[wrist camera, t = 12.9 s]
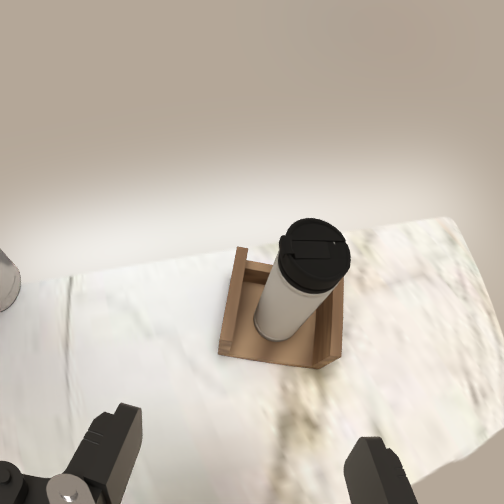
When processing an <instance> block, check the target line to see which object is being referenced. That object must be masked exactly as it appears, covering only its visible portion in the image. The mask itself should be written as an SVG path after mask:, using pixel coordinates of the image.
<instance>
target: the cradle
mask: <svg viewBox="0 0 504 504" xmlns="http://www.w3.org/2000/svg"><path fill="white" fill-rule="evenodd" d="M247 253H248V248H243V247H237V250H236V255H235V260H234V265H233V271H232V276H231V281H230V286H229V292H228V297H227V302H226V307H225V313H224V318H223V323H222V329H221V334H220V340H219V348H218V354H219V355H225V356H230V357H236V358H242V359H248V360H254V361H261V362H267V363H274V364H281V365H289V366H297V367H305V368H314V369H320V368H322V367H324V366H326V365H327V364H329V363H331V362H333V361H335V360H337V359H338V358H340V357H341V352H342V330H343V292H344V276H343V278H342V279H341V280H340V281H339V283H338V285H337V286H336V287H335V288H334V289H333V291H332V292H331V293H330V294H329V295H328V296H327V298H326V299H325V300H324V301H323V302H322V303H321V304H320V306H319V307H318V308H317V309H316V310H315V311H314V312H313V314H312V315H311V316H310V317H309V318H308V319H307V320H306V321H305V323H304V324H303V325H302V326H301V327H300V328H299V329H298V330H297V331H296V332H295V334H294V335H293V336H292V337H290V338H289V339H287V340H285V341H281V342H273V341H269V340H267V339H265V338H263V337H262V336H261V335H260V334H259V333H258V332H257V330H256V328H255V326H254V321H253V317H254V312H255V310H256V307H257V305H258V302H259V300H260V297H261V295H262V292H263V290H264V287H265V285H266V282H267V280H268V277H269V274H270V272H271V269H272V267H273V265H270V264H264V263H259V262H253V261H248V260H246V259H247Z"/></svg>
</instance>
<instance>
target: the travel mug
mask: <svg viewBox="0 0 504 504" xmlns="http://www.w3.org/2000/svg"><path fill="white" fill-rule="evenodd" d="M345 241H346V240H345V238H344V237H343V235H342V233H341V232H340V231H339V230H338V229H337V228H335V227H334V226H332V225H331V224H329V223H327V222H325V221H322V220H320V219H315V218H305V219H301V220H298V221H296V222H295V223H293V224H292V225H291V226H290V228H289V229H288V231H287V233H286V235H283V236H281V238H280V240H279V251H278V254H277V257H276V259H275V262H274V264H273V267H272V269H271V272H270V274H269V277H268V280H267V282H266V285H265V287H264V290H263V292H262V295H261V297H260V300H259V302H258V305H257V307H256V310H255V312H254V317H253V321H254V326H255V328H256V330H257V332H258V333H259V334H260V335H261V336H262V337H263V338H265V339H267V340H269V341H273V342H281V341H285V340H287V339H289V338H290V337H292V336H293V335H294V334H295V332H296V331H297V330H298V329H299V328H300V327H301V326H302V325H303V324H304V323H305V321H306V320H307V319H308V318H309V317H310V316H311V315H312V314H313V312H314V311H315V310H316V309H317V308H318V307H319V306H320V304H321V303H322V302H323V301H324V300H325V299H326V298H327V296H328V295H329V294H330V293H331V292H332V291H333V289H334V288H335V287H336V286H337V285H338V283H339V281H340V280H341V279H342V278H343V276H344V275H345V274H346V273H347V272H348V270H349V268H350V261H351V259H350V258H351V256H350V250H349V248H348V245H347V244H346V242H345Z"/></svg>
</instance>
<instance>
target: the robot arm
mask: <svg viewBox="0 0 504 504" xmlns="http://www.w3.org/2000/svg"><path fill="white" fill-rule="evenodd" d="M20 284H21V277H20V272H19V270H18V268H17V267H16V266H15V264H14V263H13V262H12V261H11V260H10V259H9V258H8V257H7V256H6V255H5V253H4V252H3V251H2V250H1V249H0V311H3V310H5V309H7V308H8V307H9V306H10V305H11V304H12V303H13V302H14V300H15V299H16V297H17V295H18V292H19V289H20ZM141 443H142V410H141V408H138V407H135V406H131V405H128V404H124V403H120V404H119V406H118V407H117V409H116V411H115V413H114V415H113V414H110V413H107V412H103V413H102V414H101V415H99V416H98V417H96V418H95V419H94V420H93V422H92V424H91V425H90V427H89V429H88V432H86V434H85V436H84V439H83V440H82V441H81V443H80V445H79V447H78V449H77V450H76V452H75V454H74V456H73V458H72V459H71V461H70V463H69V465H68V467H67V468H66V470H65V471H64V472H63V473H62V474H59V475H56V476H54V477H52V478H40V477H35V476H30V475H25V474H21V472H20V470H19V469H18V468H17V467H16V466H15V465H13V464H12V463H10V462H6V461H0V504H120V503H121V500H122V497H123V495H124V492H125V489H126V486H127V483H128V481H129V478H130V475H131V472H132V469H133V467H134V464H135V461H136V458H137V456H138V453H139V450H140V447H141ZM402 467H403V466H402V464H401V462H400V460H399V457H398V456H397V455H396V454H395V453H394V452H393V451H392V450H391V449H390V448H388V449H386V447H385V445H384V443H383V440H382V438H381V437H361V438H359V440H358V441H357V443H356V444H355V446H354V448H353V449H352V451H351V453H350V454H349V456H348V458H347V459H346V461H345V464H344V477H345V481H346V485H347V489H348V492H349V496H350V500H351V504H418V503H417V500H416V497H415V495H414V493H413V490H412V488H411V485H410V483H409V481H408V478H407V477H406V473H405V471H404V469H402Z"/></svg>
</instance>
